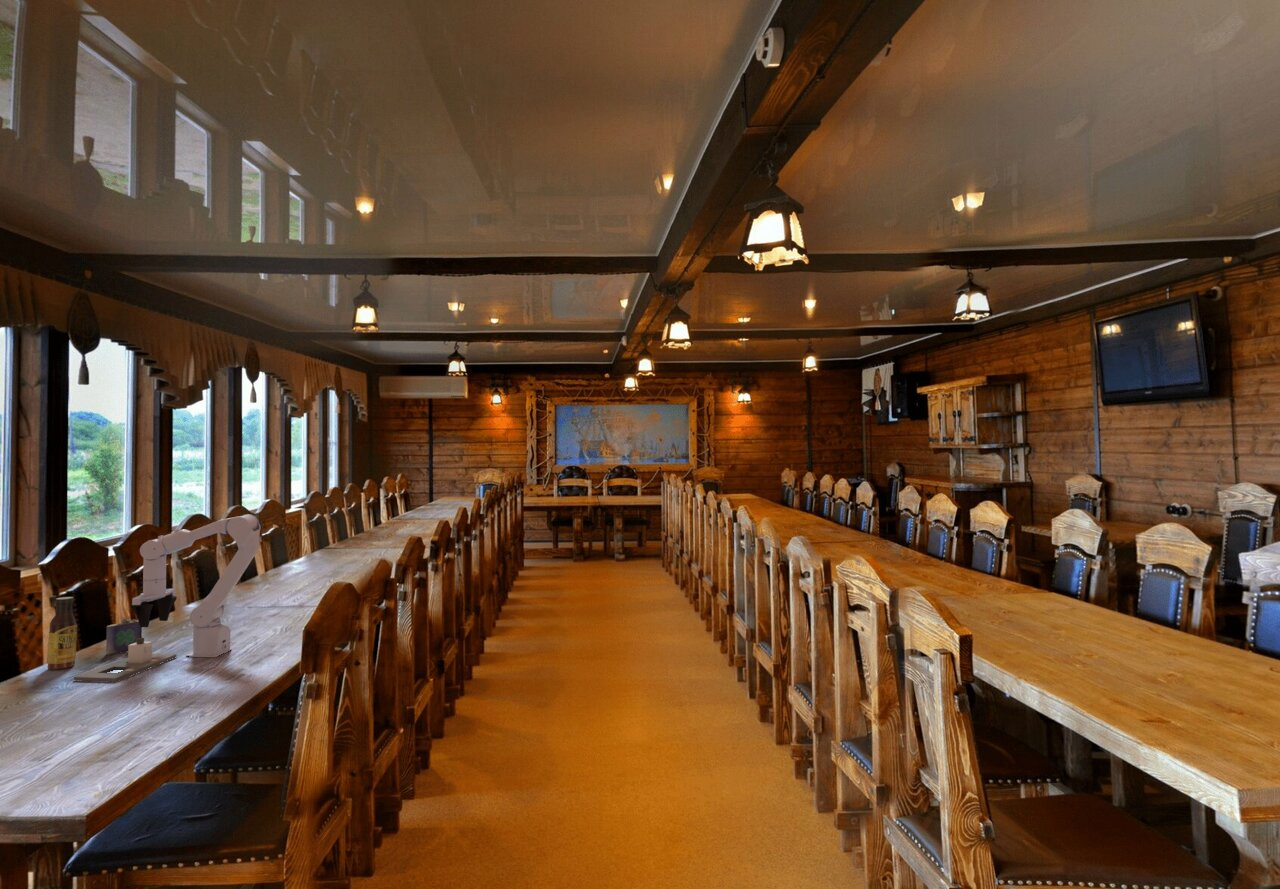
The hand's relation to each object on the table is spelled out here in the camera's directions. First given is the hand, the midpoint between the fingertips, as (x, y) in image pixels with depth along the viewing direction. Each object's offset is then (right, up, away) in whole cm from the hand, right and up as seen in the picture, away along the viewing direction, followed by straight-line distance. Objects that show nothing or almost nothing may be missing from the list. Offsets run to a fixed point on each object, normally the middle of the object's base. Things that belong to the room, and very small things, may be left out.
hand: (154, 623), depth 208 cm
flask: (-13, -10, +5) cm, 17 cm away
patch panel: (+1, -10, -12) cm, 16 cm away
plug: (+1, -10, -8) cm, 12 cm away
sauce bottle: (-19, -10, -11) cm, 24 cm away
